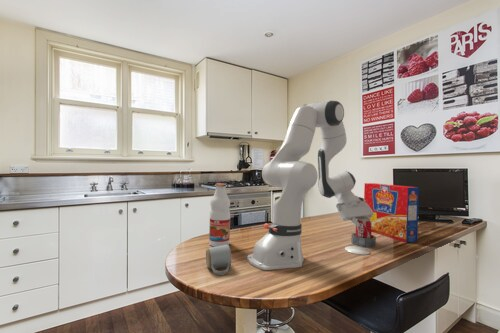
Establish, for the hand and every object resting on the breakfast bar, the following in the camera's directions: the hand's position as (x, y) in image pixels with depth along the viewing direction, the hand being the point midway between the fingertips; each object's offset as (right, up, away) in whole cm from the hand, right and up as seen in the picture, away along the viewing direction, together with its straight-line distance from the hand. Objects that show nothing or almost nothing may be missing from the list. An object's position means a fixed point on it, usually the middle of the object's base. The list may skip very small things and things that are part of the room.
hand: (365, 225), depth 122 cm
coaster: (-8, -9, -10) cm, 16 cm away
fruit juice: (-70, -7, -6) cm, 71 cm away
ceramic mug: (-67, -8, -33) cm, 75 cm away
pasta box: (+21, -10, +19) cm, 30 cm away
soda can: (-1, -9, +1) cm, 9 cm away
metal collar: (-1, -9, +1) cm, 9 cm away
